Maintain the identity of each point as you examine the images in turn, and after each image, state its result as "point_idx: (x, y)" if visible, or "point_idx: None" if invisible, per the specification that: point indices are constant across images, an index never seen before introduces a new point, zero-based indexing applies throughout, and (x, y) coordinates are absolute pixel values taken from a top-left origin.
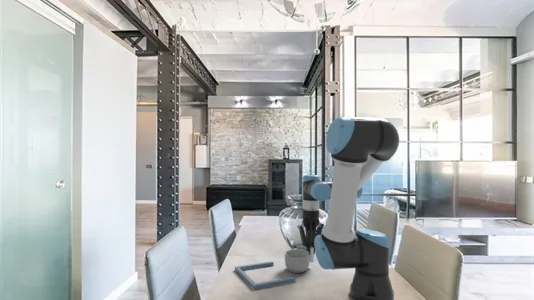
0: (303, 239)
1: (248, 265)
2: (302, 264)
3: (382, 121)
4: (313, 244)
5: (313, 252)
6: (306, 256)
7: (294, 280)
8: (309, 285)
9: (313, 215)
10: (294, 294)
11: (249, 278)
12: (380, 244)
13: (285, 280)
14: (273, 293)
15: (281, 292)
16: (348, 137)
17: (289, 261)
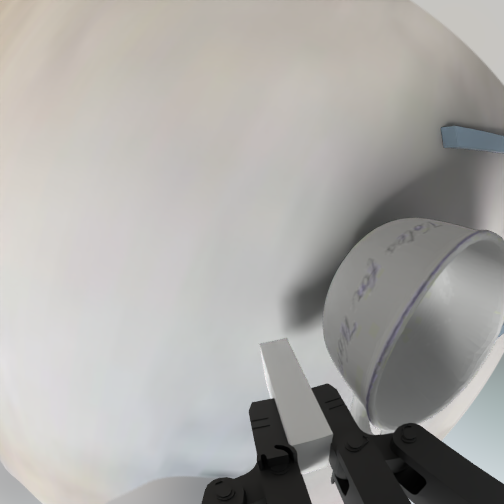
0: (473, 470)
1: (501, 330)
2: (431, 220)
3: None
4: (302, 479)
5: (278, 404)
6: (448, 248)
7: (450, 127)
8: (391, 58)
9: None
10: (452, 37)
11: None
12: None
13: (483, 131)
14: (497, 87)
15: (483, 77)
16: None
17: (484, 268)
